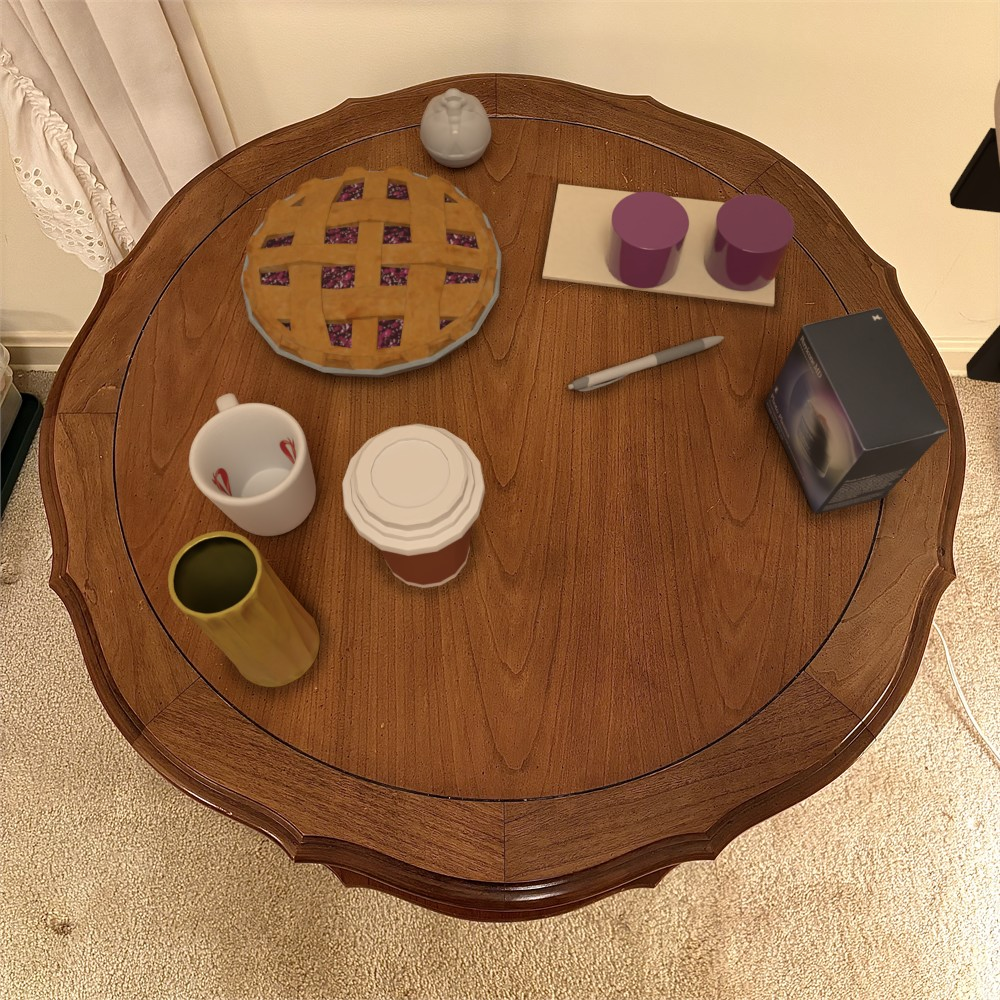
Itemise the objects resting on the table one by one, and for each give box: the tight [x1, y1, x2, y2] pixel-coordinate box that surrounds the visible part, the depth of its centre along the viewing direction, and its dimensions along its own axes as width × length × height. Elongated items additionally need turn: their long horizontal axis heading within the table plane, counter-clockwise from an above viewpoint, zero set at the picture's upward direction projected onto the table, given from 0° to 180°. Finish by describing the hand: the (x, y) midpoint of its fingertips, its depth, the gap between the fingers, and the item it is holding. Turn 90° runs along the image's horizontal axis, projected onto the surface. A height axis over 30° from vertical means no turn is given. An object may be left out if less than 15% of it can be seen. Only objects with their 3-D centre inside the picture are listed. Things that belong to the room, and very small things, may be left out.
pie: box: [240, 165, 503, 379], centre depth 71 cm, size 22×22×5 cm
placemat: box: [541, 183, 776, 308], centre depth 75 cm, size 20×11×1 cm, turn 81°
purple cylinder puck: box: [704, 193, 795, 291], centre depth 72 cm, size 6×6×5 cm
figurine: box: [419, 87, 492, 169], centre depth 77 cm, size 6×7×8 cm
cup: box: [188, 392, 317, 537], centre depth 61 cm, size 11×8×8 cm
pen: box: [567, 335, 725, 392], centre depth 69 cm, size 1×14×1 cm, turn 111°
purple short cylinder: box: [606, 190, 689, 288], centre depth 72 cm, size 6×6×5 cm
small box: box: [763, 307, 949, 515], centre depth 62 cm, size 11×6×10 cm, turn 14°
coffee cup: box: [341, 423, 486, 589], centre depth 57 cm, size 9×9×12 cm
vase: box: [167, 530, 321, 688], centre depth 53 cm, size 6×6×14 cm
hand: (991, 287), depth 37 cm, fingers open, 9 cm apart
